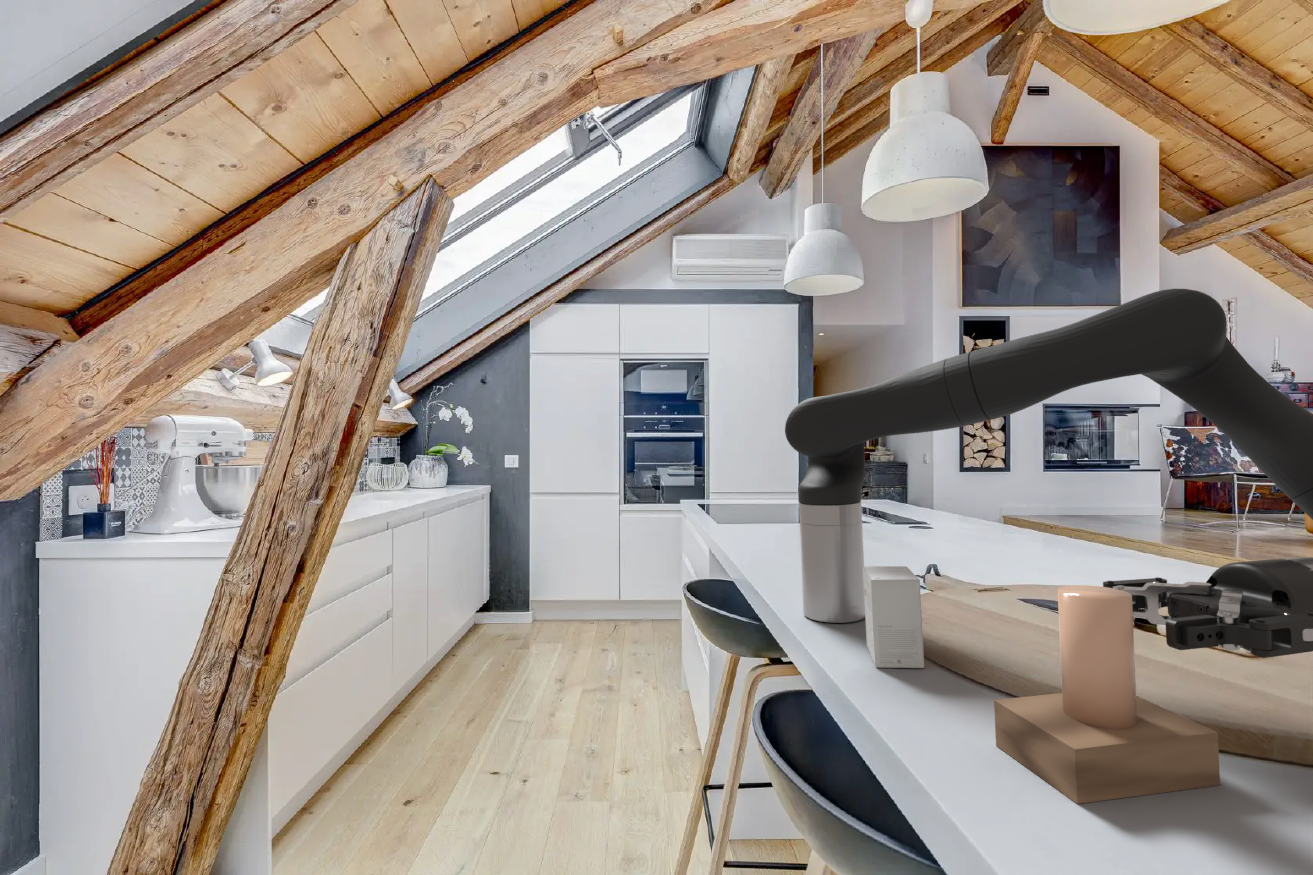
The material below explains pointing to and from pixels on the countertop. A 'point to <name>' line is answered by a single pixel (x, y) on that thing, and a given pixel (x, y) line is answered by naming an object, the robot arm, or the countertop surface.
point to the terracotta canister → (1097, 656)
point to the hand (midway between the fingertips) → (1122, 619)
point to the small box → (893, 617)
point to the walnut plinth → (1107, 750)
